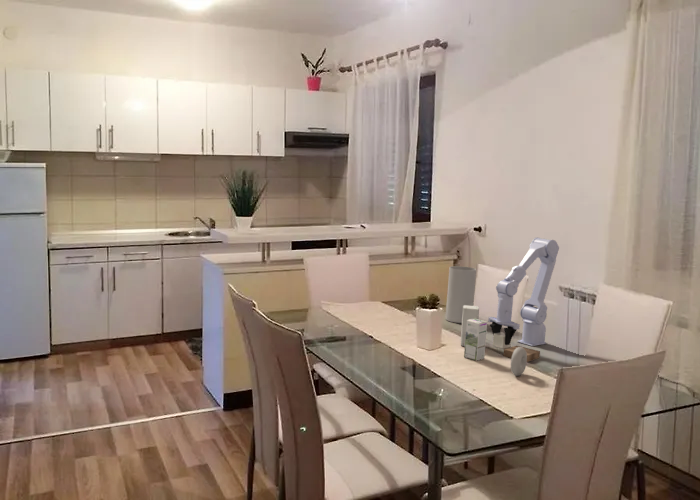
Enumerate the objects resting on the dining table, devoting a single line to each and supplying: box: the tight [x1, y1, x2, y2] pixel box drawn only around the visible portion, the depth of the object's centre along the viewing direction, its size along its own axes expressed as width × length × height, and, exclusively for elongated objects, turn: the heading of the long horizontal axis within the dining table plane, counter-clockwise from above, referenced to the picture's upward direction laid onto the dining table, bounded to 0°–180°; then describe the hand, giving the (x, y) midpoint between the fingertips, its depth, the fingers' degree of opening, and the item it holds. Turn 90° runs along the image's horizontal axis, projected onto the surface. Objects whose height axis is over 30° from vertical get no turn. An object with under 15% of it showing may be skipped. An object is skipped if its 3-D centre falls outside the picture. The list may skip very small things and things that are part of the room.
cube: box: [492, 331, 512, 350], centre depth 267 cm, size 5×5×5 cm
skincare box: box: [460, 305, 480, 347], centre depth 266 cm, size 8×7×16 cm
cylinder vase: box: [445, 265, 477, 324], centre depth 309 cm, size 12×12×25 cm
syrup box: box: [463, 319, 488, 361], centre depth 246 cm, size 6×6×14 cm
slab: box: [502, 345, 541, 363], centre depth 253 cm, size 10×10×3 cm
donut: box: [510, 346, 528, 377], centre depth 228 cm, size 10×4×10 cm, turn 147°
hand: (501, 342), depth 267 cm, fingers closed on cube, 5 cm apart
